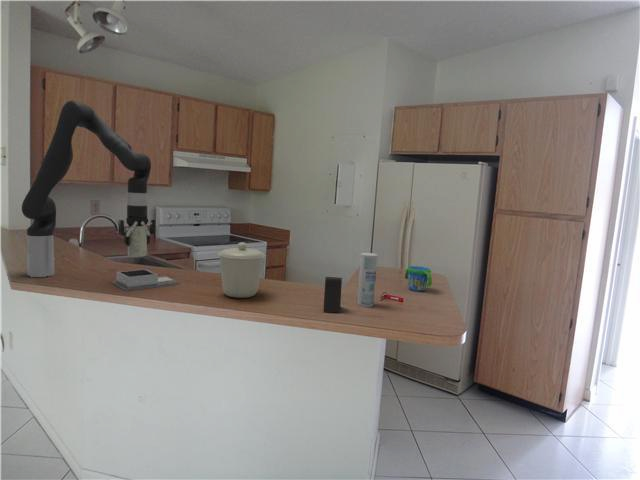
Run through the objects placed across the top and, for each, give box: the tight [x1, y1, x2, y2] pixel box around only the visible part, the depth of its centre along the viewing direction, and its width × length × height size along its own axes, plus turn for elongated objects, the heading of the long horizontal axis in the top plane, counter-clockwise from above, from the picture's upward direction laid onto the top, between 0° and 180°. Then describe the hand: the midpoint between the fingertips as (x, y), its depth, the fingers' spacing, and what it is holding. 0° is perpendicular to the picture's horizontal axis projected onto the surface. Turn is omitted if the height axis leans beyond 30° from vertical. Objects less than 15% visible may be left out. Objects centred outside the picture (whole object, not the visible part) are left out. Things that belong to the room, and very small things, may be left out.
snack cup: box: [404, 265, 433, 293], centre depth 195 cm, size 16×10×10 cm
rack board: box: [112, 268, 181, 292], centre depth 176 cm, size 22×14×5 cm, turn 135°
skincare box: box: [126, 225, 148, 258], centre depth 171 cm, size 6×4×12 cm
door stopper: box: [323, 276, 343, 314], centre depth 156 cm, size 9×6×12 cm, turn 179°
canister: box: [217, 241, 266, 299], centre depth 168 cm, size 18×18×21 cm
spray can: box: [357, 252, 379, 308], centre depth 165 cm, size 6×6×20 cm
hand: (137, 245), depth 171 cm, fingers closed on skincare box, 7 cm apart
